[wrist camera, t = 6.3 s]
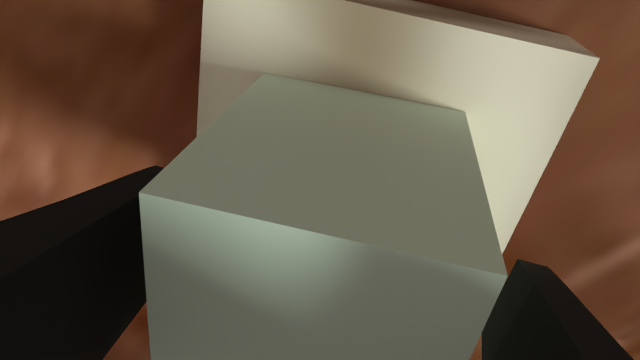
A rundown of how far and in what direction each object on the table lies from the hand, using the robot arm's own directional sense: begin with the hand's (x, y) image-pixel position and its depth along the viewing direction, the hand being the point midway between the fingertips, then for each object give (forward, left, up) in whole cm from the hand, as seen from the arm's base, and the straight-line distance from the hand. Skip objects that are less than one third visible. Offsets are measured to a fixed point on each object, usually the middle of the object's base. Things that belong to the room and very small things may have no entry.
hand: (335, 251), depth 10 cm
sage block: (0, 0, -3) cm, 3 cm away
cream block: (0, 0, -6) cm, 6 cm away
